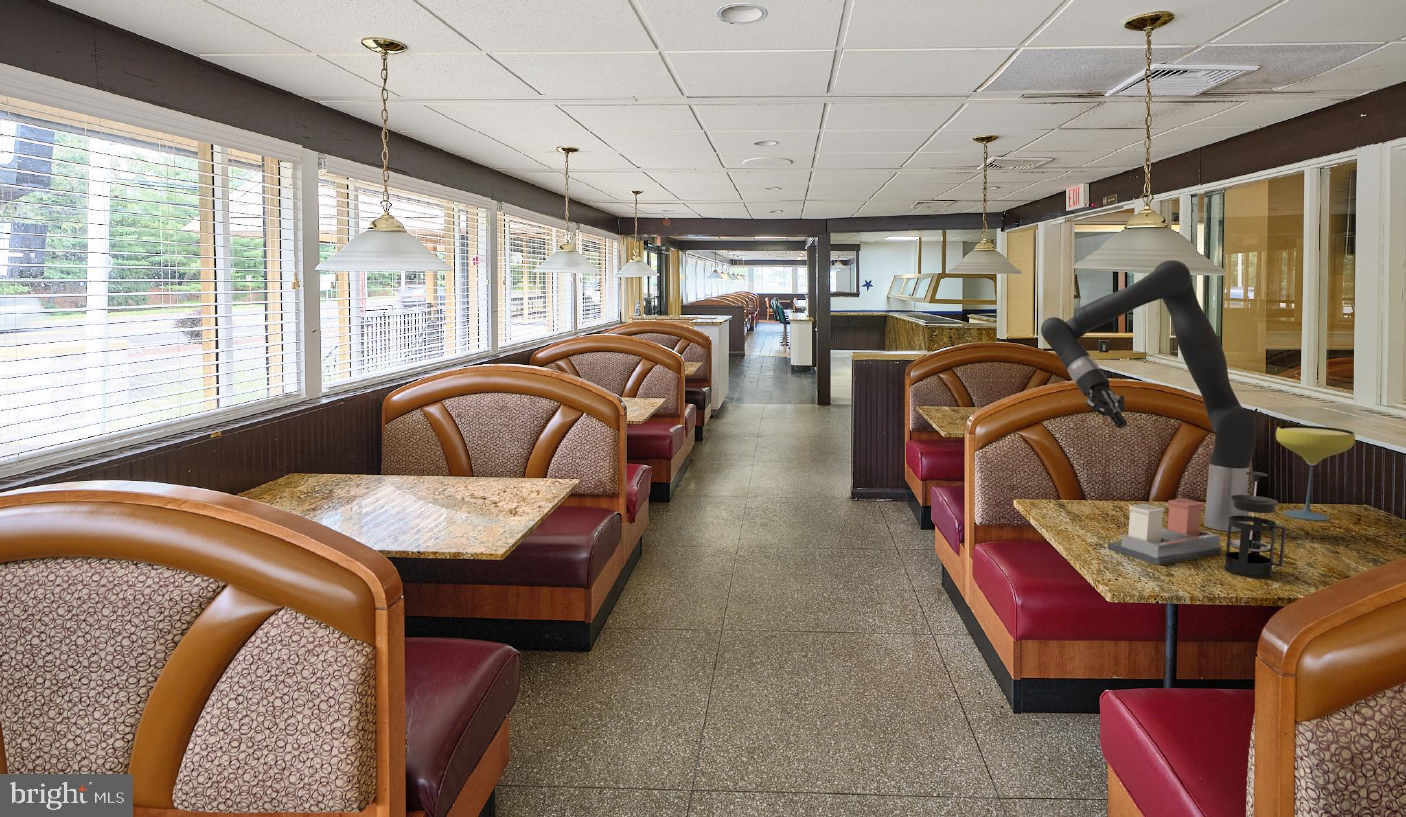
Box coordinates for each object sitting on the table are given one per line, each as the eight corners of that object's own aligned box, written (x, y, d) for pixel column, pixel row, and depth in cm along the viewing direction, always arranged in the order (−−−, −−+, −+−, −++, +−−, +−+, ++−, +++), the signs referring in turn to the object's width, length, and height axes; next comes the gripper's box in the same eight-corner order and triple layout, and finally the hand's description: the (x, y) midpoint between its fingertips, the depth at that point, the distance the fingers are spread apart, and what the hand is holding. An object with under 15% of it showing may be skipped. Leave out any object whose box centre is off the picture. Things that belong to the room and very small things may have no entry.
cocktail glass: (1255, 512, 246) (1263, 427, 242) (1291, 505, 254) (1299, 423, 251) (1323, 527, 230) (1333, 436, 226) (1359, 519, 238) (1369, 432, 235)
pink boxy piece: (1165, 539, 212) (1168, 500, 210) (1179, 537, 214) (1183, 498, 213) (1185, 545, 207) (1188, 505, 205) (1200, 542, 209) (1203, 503, 208)
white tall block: (1126, 546, 206) (1129, 506, 204) (1141, 543, 208) (1144, 503, 207) (1145, 552, 201) (1149, 511, 200) (1161, 549, 203) (1164, 508, 202)
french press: (1214, 570, 193) (1222, 471, 190) (1227, 561, 199) (1236, 466, 196) (1274, 583, 184) (1284, 480, 181) (1286, 574, 191) (1296, 474, 188)
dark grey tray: (1107, 548, 209) (1108, 531, 209) (1167, 538, 218) (1169, 521, 218) (1158, 565, 197) (1160, 546, 196) (1220, 553, 206) (1222, 535, 205)
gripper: (1079, 368, 228) (1115, 419, 218) (1113, 366, 233) (1150, 416, 224) (1062, 386, 233) (1096, 436, 224) (1096, 384, 239) (1131, 433, 229)
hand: (1123, 426), depth 224 cm, fingers closed
